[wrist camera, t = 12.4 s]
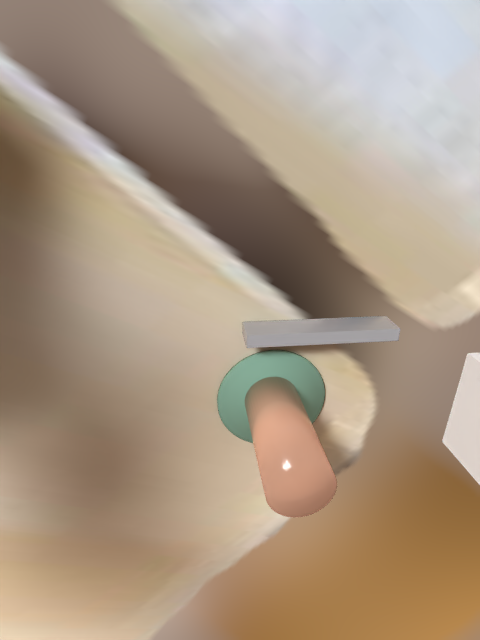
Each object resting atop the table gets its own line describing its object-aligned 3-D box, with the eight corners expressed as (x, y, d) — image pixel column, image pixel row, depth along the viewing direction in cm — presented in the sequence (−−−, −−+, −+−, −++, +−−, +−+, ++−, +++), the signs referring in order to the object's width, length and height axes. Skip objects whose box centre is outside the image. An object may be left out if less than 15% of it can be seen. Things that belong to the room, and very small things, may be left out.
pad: (218, 445, 45) (218, 447, 44) (216, 352, 40) (216, 354, 40) (319, 437, 46) (320, 440, 46) (328, 347, 42) (329, 349, 41)
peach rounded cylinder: (244, 424, 44) (264, 520, 33) (244, 378, 41) (266, 464, 30) (296, 421, 44) (333, 513, 33) (299, 375, 42) (340, 458, 31)
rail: (242, 333, 40) (246, 347, 37) (242, 322, 39) (247, 335, 37) (384, 327, 41) (398, 340, 39) (386, 316, 41) (400, 328, 38)
